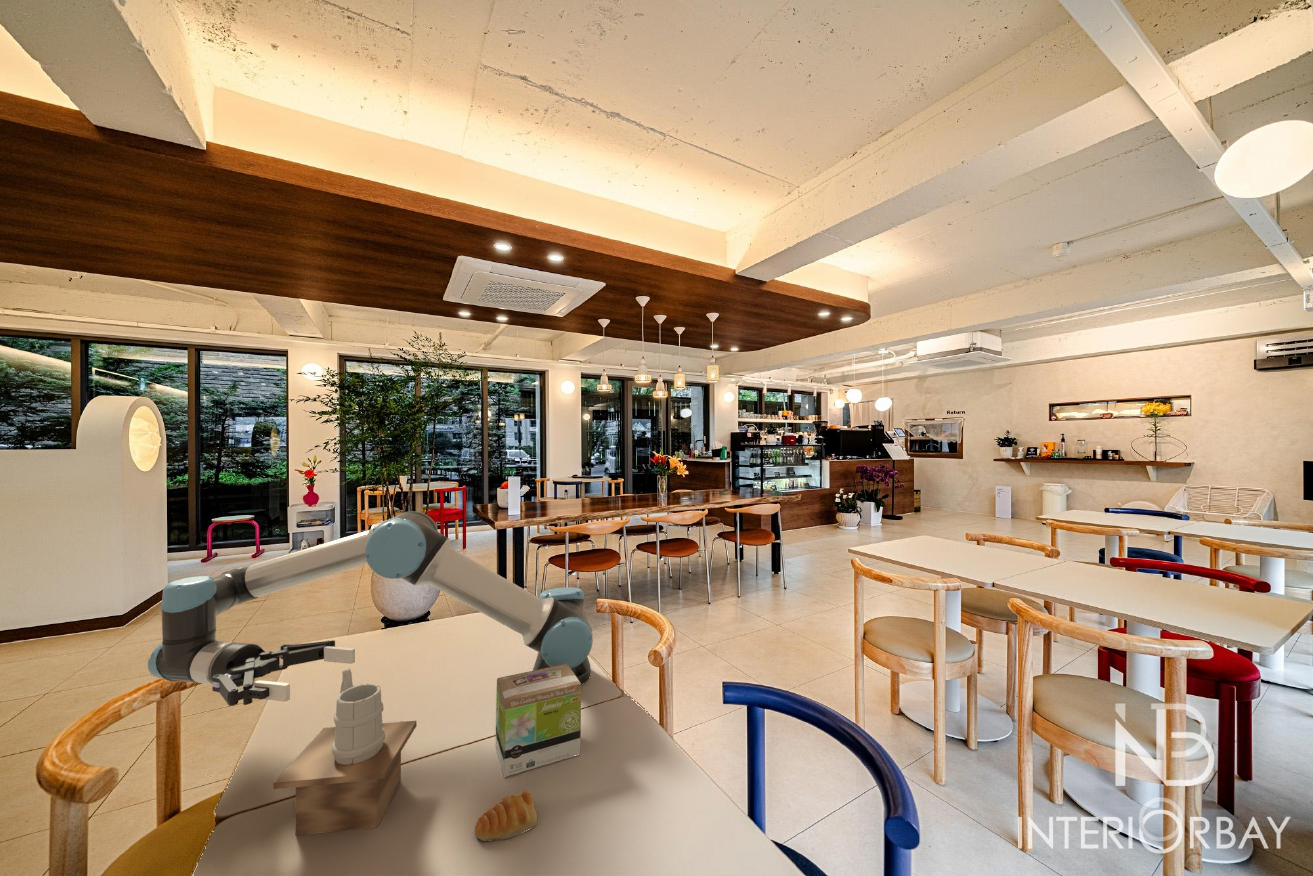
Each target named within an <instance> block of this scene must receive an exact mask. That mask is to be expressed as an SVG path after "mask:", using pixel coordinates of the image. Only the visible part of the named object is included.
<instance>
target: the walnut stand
mask: <svg viewBox="0 0 1313 876" xmlns="http://www.w3.org/2000/svg"><path fill="white" fill-rule="evenodd" d="M417 723H418V722H417V720H407V721H395V722H392V721H391V722H382V727H383V728H384V730H385V739H384V741H383V746H382V748H381V749H380V750H379V752H378V753H376V755H374V756H373V757H371V758H369V759H367V760H365V761H363V762H360V763H356V764H353V763H352V764H350V765H342V764H338V763H337V762H336V761H335V760H334V755H333V754H332V744H333V742H334V741H335V726H334V727H333V726H331V727H324V728H322V730H320V732H319V733H318V734H316V735H315V737H314V738H313V739H312V740H311V741H310V742H309V743H308V745H306V747H305V748H304V749H303V750H302V751H301V752H300V753H299V754H298V755H297V756H296V758H294V760H293V761H292V762H291V763H289V765H288V766H287V767H286V769H284V771H283V772H282V773H281V774H280V775H279V776H278V777H277V778H276V779H275V781H274V782H273V783H272V784H273V786H272V787H273V789H272V790H281V789H289V788H290V789H291V788H295V835H294V836H297V837H298V836H306V835H313V834H314V835H315V834H323V833H332V832H333V833H334V832H343V831H350V830H352V831H353V830H359V829H360V830H361V829H370V828H371V829H372V828H376V827H378V825H379V823H380V821H381V820H382V818H383V816H384V814H385V812H386V810H387V809H388V807H389V805H390V803H391V802H392V800H393V798H394V796H395V794H396V792H397V791H398V789H399V788H400V785H401V783H402V751H403V749H404V748H405V746H406V744H407V742H408V741H409V739H410V737H411V736H412V734H413V732H414V731H415V729H416V728H417Z"/></svg>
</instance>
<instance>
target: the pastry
mask: <svg viewBox="0 0 1313 876" xmlns="http://www.w3.org/2000/svg"><path fill="white" fill-rule="evenodd" d="M533 798H534V797H533V796H532V793H531V792H530V791H529V790H523V792H521V793H517V794H511V795H510V796H505V797H503V798H502V800H500V801H499V802H498V803H496V804H495V806H492V807H491V808H488V810H487V811H485V812H484V813H483V814H482V815H480V816H479V818H477V821H476V823H475V827H474V836H475V837H476V838H478V839H479V840H480V841H481V842H486V841H488V842H490V841H489V840H491V841H499V840H498V839H506V840H508V839H509V838H512V837H511V836H513V837H515V836H514V835H516V836H518V835H517V834H519V835H521V834H520V833H522V832H524V831H526V830H528V829H530V828H532V829H533V828H534V827H535V826H536V825H537V823H538V816H537V811H536V808H535V802H534V799H533ZM530 830H531V829H530ZM526 832H527V831H526ZM524 833H525V832H524ZM522 834H523V833H522ZM507 838H508V839H507ZM494 839H495V840H494Z"/></svg>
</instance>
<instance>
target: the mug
mask: <svg viewBox="0 0 1313 876" xmlns="http://www.w3.org/2000/svg"><path fill="white" fill-rule="evenodd" d="M381 689H382V688H381V687H380V685H378V684H375V683H364V684H358V685H355V686H354V684H353V674H352V670H351V669H350V668H347V669H344V670H342V681H341V685H340V690H339V694H338V696H337V697H336V704H335V705H336V706H335V707H336V709H335V713H334V715H333V721H334V724H335V726H334V727H335V741H334V742H333V744H332V754H333V755H334V760H335V761H336V762H337V763H338V764H342V765H350V764H352V763H353V764H356V763H360V762H363V761H365V760H367V759H369V758H371V757H373V756H374V755H376V753H378V752H379V750H380V749H381V748H382V746H383V741H384V739H385V730H384V728H383V727H382V723H383V712H384V707H385V706H384V703H383V700H382V690H381Z"/></svg>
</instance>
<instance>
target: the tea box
mask: <svg viewBox="0 0 1313 876" xmlns="http://www.w3.org/2000/svg"><path fill="white" fill-rule="evenodd" d="M495 707H496V708H495V743H494V745H495V751H496V754H497V757H498V760H499V764H500V768H501V771H502V775H503V778H504V779H505V778H508V777H509V776H513V775H516V774H520V773H522V772H525V771H529V770H533V769H536V768H539V767H542V766H546V765H551V764H553V763H557V762H560V761H564V760H567V759H570V758H569V757H571V758H574V757H573V756H574V755H578V754H579V755H580V754H581V740H582V739H581V736H582V735H581V734H582V732H581V731H582V722H581V721H582V685H581V683H580V681H579V680H578V678H577V677H576V675H575V674H574V673H573V671H572V670H571V668H570V667H569V665H568V664H562V665H558V666H553V667H548V668H543V669H539V670H534V671H533V670H530V671H525V672H521V673H514V674H511V675H506V676H501V677H500V676H499V677H498V678H496V699H495ZM563 759H564V760H563ZM556 761H557V762H556Z"/></svg>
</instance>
